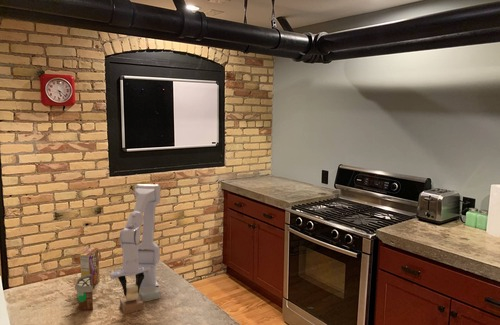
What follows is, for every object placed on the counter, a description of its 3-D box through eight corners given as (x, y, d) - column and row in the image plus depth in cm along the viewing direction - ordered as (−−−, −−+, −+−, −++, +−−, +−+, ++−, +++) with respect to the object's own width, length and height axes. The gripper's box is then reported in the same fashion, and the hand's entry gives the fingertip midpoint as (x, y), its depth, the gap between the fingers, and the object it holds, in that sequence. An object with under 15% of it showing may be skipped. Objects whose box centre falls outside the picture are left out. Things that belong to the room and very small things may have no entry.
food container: (75, 299, 149) (74, 275, 148) (92, 297, 152) (91, 273, 151) (75, 315, 138) (74, 289, 137) (93, 312, 141) (92, 286, 139)
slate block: (138, 295, 155) (137, 288, 155) (154, 291, 158) (154, 284, 158) (142, 302, 149) (142, 295, 149) (159, 298, 152) (159, 291, 152)
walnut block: (120, 306, 146) (119, 298, 145) (138, 302, 149) (138, 294, 149) (124, 314, 140) (124, 306, 139) (143, 309, 143) (143, 302, 143)
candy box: (90, 280, 167) (89, 247, 165) (100, 280, 167) (99, 247, 165) (80, 289, 158) (79, 254, 156) (90, 289, 158) (89, 255, 156)
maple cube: (125, 296, 145) (124, 284, 144) (135, 294, 147) (135, 282, 146) (127, 300, 141) (126, 288, 141) (138, 298, 143) (137, 286, 143)
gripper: (111, 266, 135) (112, 301, 137) (152, 259, 142) (152, 293, 144) (109, 259, 141) (110, 293, 143) (148, 253, 148) (148, 286, 150)
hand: (131, 293), depth 144 cm, fingers closed on maple cube, 4 cm apart
